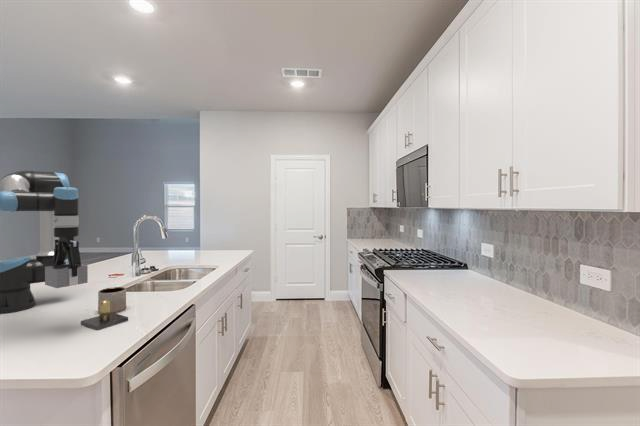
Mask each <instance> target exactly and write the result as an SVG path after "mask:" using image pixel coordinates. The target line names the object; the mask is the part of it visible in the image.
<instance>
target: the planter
mask: <svg viewBox="0 0 640 426" xmlns="http://www.w3.org/2000/svg"><path fill="white" fill-rule="evenodd" d="M97 299H98V300H97V313H99V314H100V301H102V300H110V313H111V312H113V313H116V314H118V313H120V312H123V311H124V310H126V308H127V288H126V287H123V286H115V287H114V286H113V287H107V288H103V289H99V290H98V295H97Z"/></svg>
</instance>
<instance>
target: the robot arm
mask: <svg viewBox="0 0 640 426" xmlns="http://www.w3.org/2000/svg"><path fill="white" fill-rule="evenodd" d="M0 189H1V191H0V211H1V212H14V213H15V212H39V239H40V240H39V243H40V246H39V252H38V253H37V254H35V256H36V257H35V258H31V257H30V256H27V255H26V256H19V257H18V256H17V257H12V258H7V259H3V260H1V261H0V314H8V313H14V312H19V311H24V310H27V309H31V308H33V307H35V306H36V299H35V297H34V294H33V292H32V291H31V285H32V284H40V283H45V267H47V266H55V265H63V264H69V266H70V267H68V269H69V286H68V287H72V286H77V285H76V284H78V267H79V266H81V264H82V261H81V254H80V248H79V245H80V244H79V241H78V240H75V237H76V238H77V237H78V236H79V233H80V231H79V230H80V229H79V227H78V226H79V225H80V222H79V221H80V219H79V218H80V217H79V216H80V215H79V198H80V195H79V189H78V188H76V187H71V185H70V181H69V178H68V176H67V174H65V173H61V172H55V171H54V172H52V171H37V170H34V171H33V170H17V171H14V172H13V171H12V172H10V173H8V174H6V175H4V176H3V177H2V178H1V179H0ZM71 285H72V286H71ZM78 285H79V284H78Z"/></svg>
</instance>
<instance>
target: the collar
mask: <svg viewBox="0 0 640 426" xmlns="http://www.w3.org/2000/svg"><path fill="white" fill-rule="evenodd" d="M68 267H70V266H69V264H63V265H55V266H47V267H45V282H44V285H45V286H48V287H51V288H54V289H60V288H67V287H72V286H73V285H71V286H69V269H68ZM88 278H89V277H88V264H82V263H81V266H79V267H78V284H76V285H75V286H77V285H82V284H87V283H88Z"/></svg>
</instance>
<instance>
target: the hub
mask: <svg viewBox="0 0 640 426" xmlns="http://www.w3.org/2000/svg"><path fill="white" fill-rule="evenodd" d="M128 321H129V317H128V316H126V315H122V314H119V313H113V312H111V313H110V300H102V301H100V313H99V315H97V316H94V317H90V318H87V319H83V320H80V325H81V326H84V327H86V328H89V329H90V330H91V329H92V330H94V331H101V330H103V329H107V328H109V327H112V326H116V325H118V324H123V323H124V322H128Z"/></svg>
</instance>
